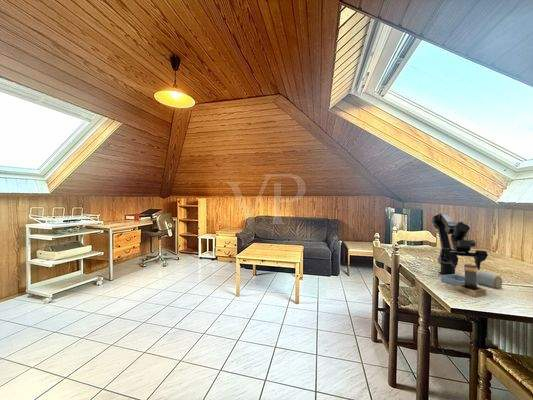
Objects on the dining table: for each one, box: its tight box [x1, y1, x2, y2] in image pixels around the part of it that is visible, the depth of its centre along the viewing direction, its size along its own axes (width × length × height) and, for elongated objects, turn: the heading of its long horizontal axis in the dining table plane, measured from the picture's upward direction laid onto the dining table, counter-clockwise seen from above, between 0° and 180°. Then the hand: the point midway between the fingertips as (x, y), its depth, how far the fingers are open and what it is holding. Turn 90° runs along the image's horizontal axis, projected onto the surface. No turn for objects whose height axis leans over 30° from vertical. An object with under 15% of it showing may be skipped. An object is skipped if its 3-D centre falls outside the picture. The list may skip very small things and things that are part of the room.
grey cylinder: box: [477, 270, 503, 289], centre depth 121 cm, size 11×8×8 cm
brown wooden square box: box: [454, 284, 488, 298], centre depth 111 cm, size 9×9×4 cm
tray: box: [440, 273, 465, 287], centre depth 123 cm, size 11×11×4 cm
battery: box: [463, 263, 478, 290], centre depth 111 cm, size 4×4×14 cm
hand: (467, 268), depth 115 cm, fingers open, 9 cm apart
